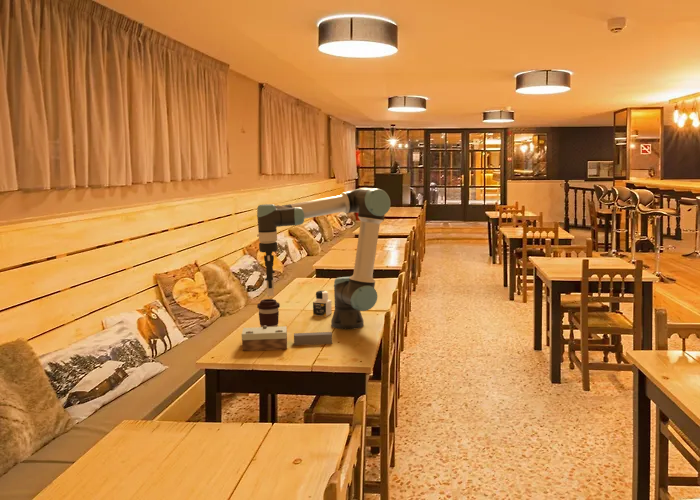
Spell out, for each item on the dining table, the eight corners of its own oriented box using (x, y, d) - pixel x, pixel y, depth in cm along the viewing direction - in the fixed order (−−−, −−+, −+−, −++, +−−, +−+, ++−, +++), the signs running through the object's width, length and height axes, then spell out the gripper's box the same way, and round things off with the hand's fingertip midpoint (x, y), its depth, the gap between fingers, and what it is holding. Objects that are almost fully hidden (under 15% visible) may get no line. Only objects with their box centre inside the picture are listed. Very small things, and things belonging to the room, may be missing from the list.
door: (286, 332, 271) (286, 324, 270) (286, 338, 261) (286, 330, 260) (243, 333, 269) (243, 325, 269) (241, 340, 259) (241, 331, 259)
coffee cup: (276, 336, 283) (275, 303, 281) (255, 335, 285) (253, 302, 283) (283, 330, 292) (282, 298, 290) (262, 329, 294) (261, 297, 292)
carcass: (287, 341, 275) (286, 323, 274) (286, 349, 263) (286, 330, 262) (244, 342, 273) (243, 324, 272) (242, 351, 261) (241, 332, 260)
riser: (331, 341, 274) (331, 331, 274) (332, 343, 270) (332, 334, 270) (294, 342, 273) (293, 333, 272) (294, 345, 269) (293, 335, 268)
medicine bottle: (313, 315, 320) (312, 292, 319) (319, 312, 327) (318, 289, 325) (326, 316, 317) (325, 293, 316) (331, 313, 324) (331, 290, 322)
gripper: (259, 238, 276) (262, 286, 279) (258, 246, 252) (261, 299, 255) (277, 237, 277) (279, 285, 280) (277, 245, 252) (280, 298, 256)
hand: (270, 292), depth 267 cm, fingers open, 13 cm apart
